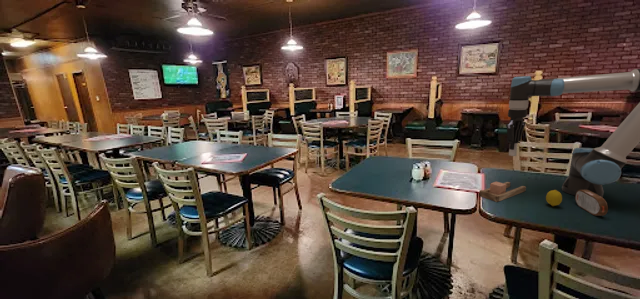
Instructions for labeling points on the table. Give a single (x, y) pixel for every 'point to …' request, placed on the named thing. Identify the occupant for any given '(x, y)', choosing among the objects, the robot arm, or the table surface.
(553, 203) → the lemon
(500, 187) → the block
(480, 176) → the table surface
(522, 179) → the table surface
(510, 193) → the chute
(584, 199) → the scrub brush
